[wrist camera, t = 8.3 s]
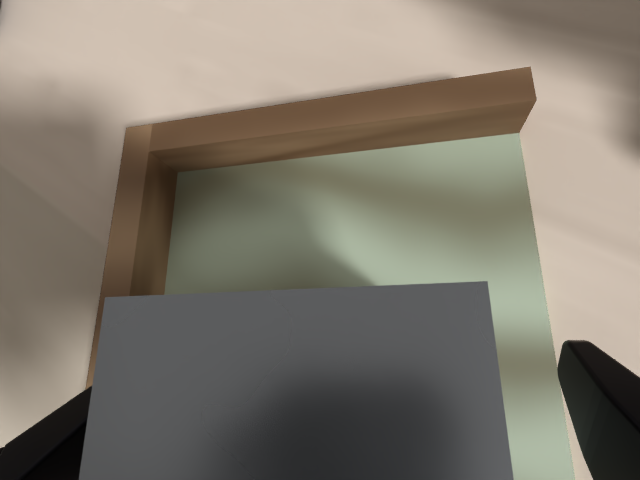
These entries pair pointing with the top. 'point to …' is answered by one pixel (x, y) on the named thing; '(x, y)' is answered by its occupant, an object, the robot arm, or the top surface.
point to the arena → (354, 218)
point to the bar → (299, 386)
